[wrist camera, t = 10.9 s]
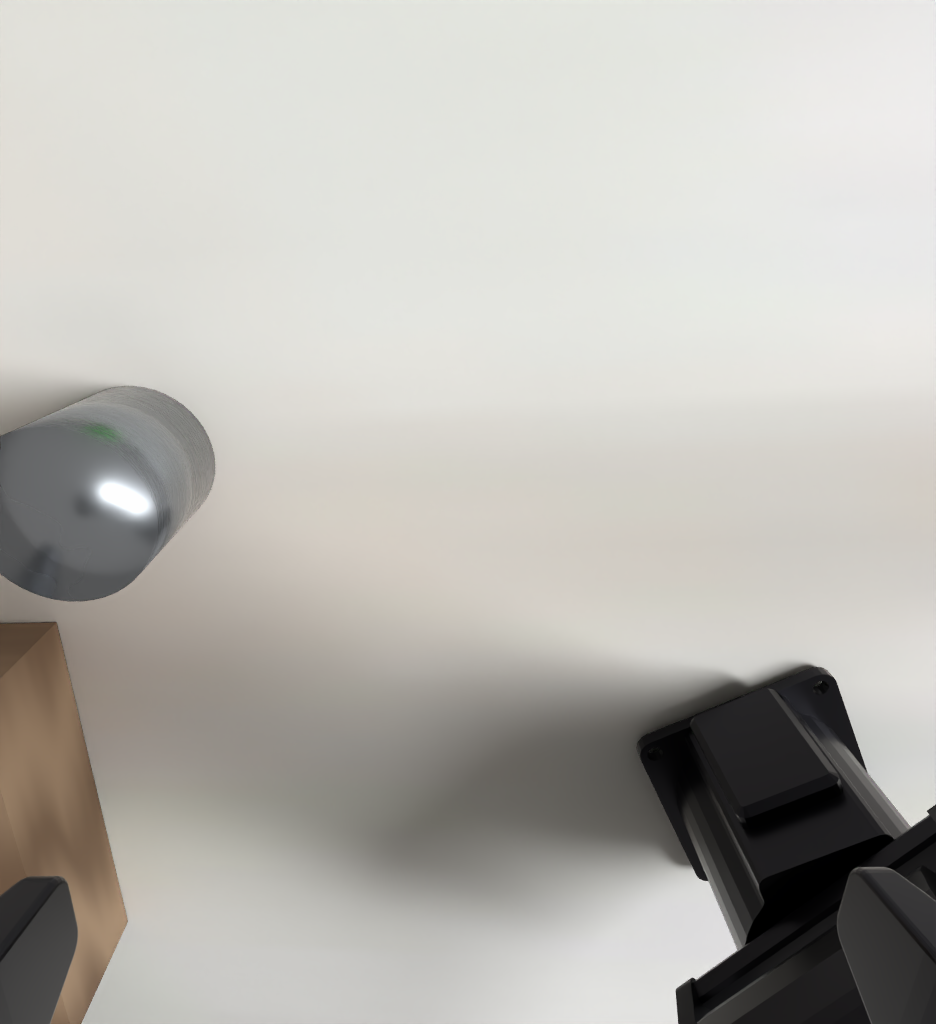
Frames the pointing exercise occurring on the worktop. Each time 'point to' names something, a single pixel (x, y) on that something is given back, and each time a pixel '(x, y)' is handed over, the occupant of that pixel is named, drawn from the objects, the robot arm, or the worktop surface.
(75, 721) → the hole block
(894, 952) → the robot arm
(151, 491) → the short pin
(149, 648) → the worktop surface
